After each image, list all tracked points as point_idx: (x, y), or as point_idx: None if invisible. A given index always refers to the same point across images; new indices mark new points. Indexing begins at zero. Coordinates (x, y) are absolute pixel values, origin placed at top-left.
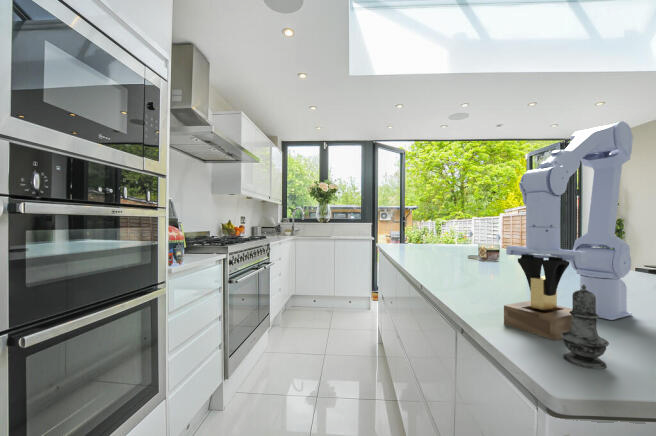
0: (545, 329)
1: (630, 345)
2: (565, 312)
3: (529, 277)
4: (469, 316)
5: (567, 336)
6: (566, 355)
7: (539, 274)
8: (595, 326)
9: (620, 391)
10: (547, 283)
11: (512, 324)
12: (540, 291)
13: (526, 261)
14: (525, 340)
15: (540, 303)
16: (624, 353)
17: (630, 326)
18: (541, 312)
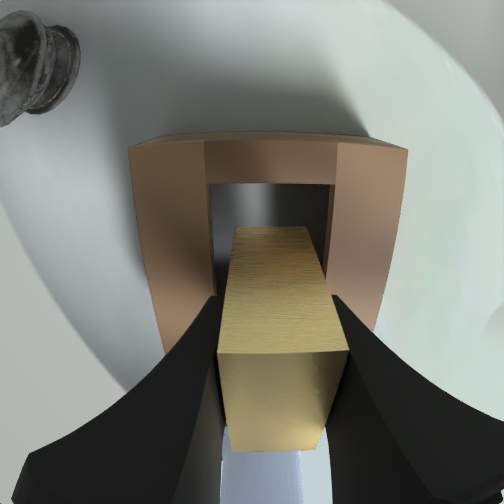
0: (186, 136)
1: (80, 298)
2: (178, 291)
3: (366, 357)
4: (479, 122)
5: (19, 21)
6: (64, 37)
7: (331, 442)
8: None
9: None
10: (197, 342)
11: (335, 134)
12: (250, 282)
13: (444, 485)
14: (208, 36)
15: (249, 239)
16: (45, 226)
17: None
18: None
